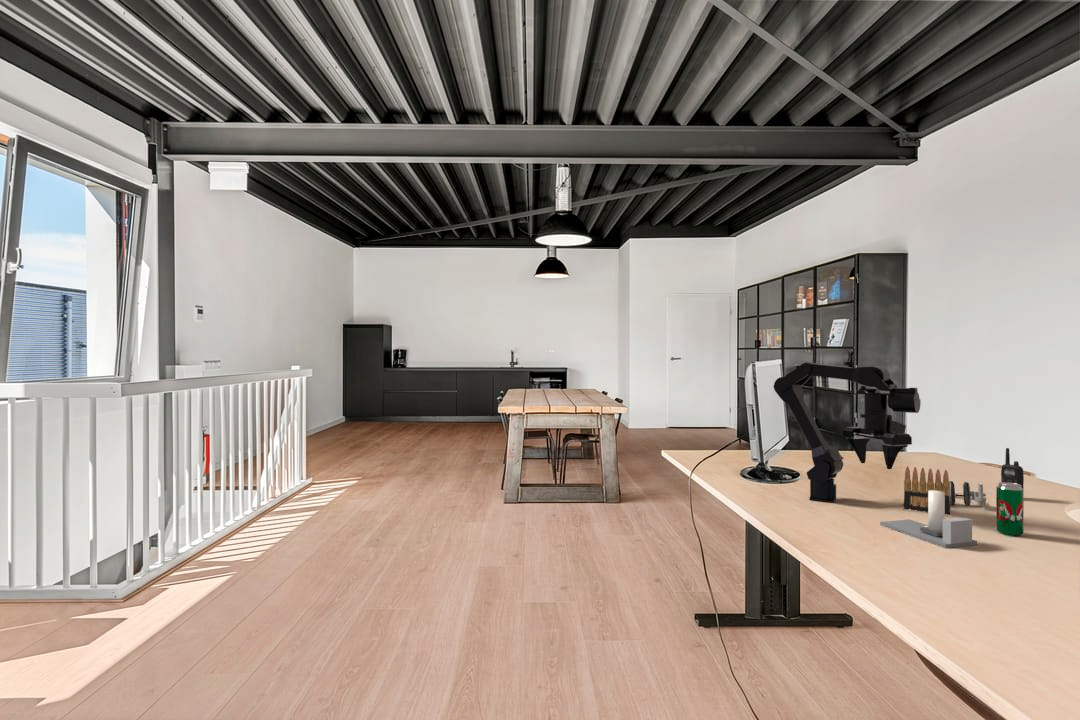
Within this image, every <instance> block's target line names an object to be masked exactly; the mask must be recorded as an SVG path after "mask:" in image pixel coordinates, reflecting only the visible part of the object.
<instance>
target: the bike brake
mask: <svg viewBox="0 0 1080 720" xmlns="http://www.w3.org/2000/svg"><path fill="white" fill-rule="evenodd" d="M941 484H942V485H943V481H941ZM949 486H950V505H951V506H955V504H956V498H962V499H963V503H964V505H965V506H966V507H970V506H971V502H972V501H976V502H977V504H978V505H979V506H980V507H984V506H985V505H986V502H987V497H986V496H987V493H986V492H984V486H983V484H980V483H979V484H978V483H977V488H978V489H977V490H978V491H974V490H973V491H972V490H971V487H970V483H969V482H967V481H964V482H963V484H962V490H963V491H962V492H963V493H962V494H961V493H958V492H957V493H956V491H955V482H953V481H952V480H949ZM971 500H972V501H971Z"/></svg>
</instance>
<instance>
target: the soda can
mask: <svg viewBox="0 0 1080 720" xmlns="http://www.w3.org/2000/svg"><path fill="white" fill-rule="evenodd" d="M995 488H996V489H995V491H996V493H995V495H996V497H995V498H996V500H995V501H996V503H995V504H996V505H995V508H996V511H995V512H996V516H995V517H996V523H995V524H996V526H995V527H996V531H997V532H998V533H1000V534H1001V535H1005V536H1009V537H1022V535H1024V528H1025V527H1024V526H1025V525H1024V524H1025V523H1024V522H1025V521H1024V519H1025V518H1024V517H1025V515H1024V511H1025V510H1024V509H1025V508H1024V500H1025V499H1024V493H1025V492H1024V491H1025V490H1024V488H1023V489H1022V487H1021V485H1020V484H1016V483H1009V482H1001V481H1000V482H998V483H997V486H996V487H995Z"/></svg>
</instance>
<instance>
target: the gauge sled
mask: <svg viewBox="0 0 1080 720" xmlns="http://www.w3.org/2000/svg"><path fill="white" fill-rule="evenodd" d="M927 513H928V515H927V517H928V518H927V521H928V523H927V525H928V527H920V531H922V532H925V533H928V534H931V535H934V536H943V519H946V517H945V516H946V514H945V492H942V491H936V490H935V489H934V490H929V491H928V512H927Z"/></svg>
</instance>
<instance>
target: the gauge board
mask: <svg viewBox="0 0 1080 720" xmlns="http://www.w3.org/2000/svg"><path fill="white" fill-rule="evenodd" d="M879 525H880V526H881V525H883V526H882V527H884V526H885V527H884V528H887V527H888V528H887V529H890V528H891V529H890V530H893V529H894V530H893V531H896V530H897V531H896V532H898V531H900V532H899V533H901V532H902V533H901V534H904V533H905V534H904V535H907V534H908V536H910V535H911V536H910V537H913V538H915V537H916V539H918V538H919V540H922V541H924V540H925V541H924V542H927V541H928V542H927V543H930V542H931V543H930V544H933V543H934V545H935V544H937V545H936V546H938V545H939V547H941V546H942V547H941V548H944V549H949V548H958V547H959V548H960V547H968V546H977V545H978V540H975V539H973V520H972V519H971V518H967V517H965V516H963V517H954V518H953V517H952V518H945V519H943V536H934V535H931V534H928V533H925V532H922V531H920V527H928V524H925V523H923V522H922V523H921V522H918V521H915V520H912V519H909V518H908V519H900V520H899V519H898V520H887V521H880V522H879Z"/></svg>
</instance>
